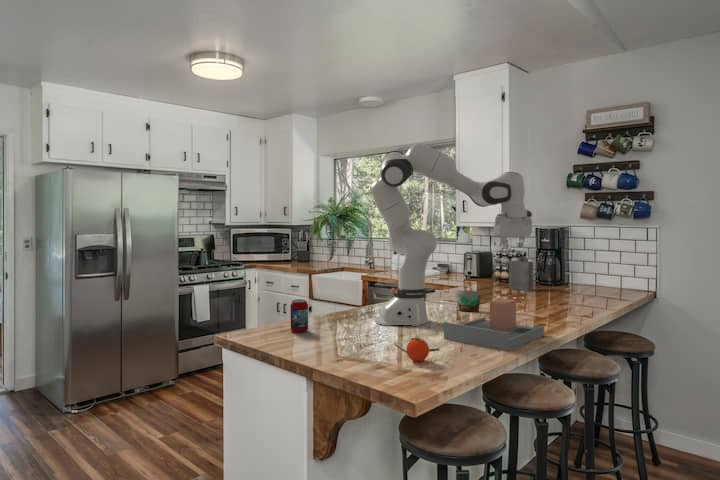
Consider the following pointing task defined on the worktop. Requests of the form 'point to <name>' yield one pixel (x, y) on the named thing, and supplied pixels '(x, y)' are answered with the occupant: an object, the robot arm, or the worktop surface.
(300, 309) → the beverage can
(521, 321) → the worktop surface
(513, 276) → the flask
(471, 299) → the potted plant
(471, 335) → the tray
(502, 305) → the block
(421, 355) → the red tomato
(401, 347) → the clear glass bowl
